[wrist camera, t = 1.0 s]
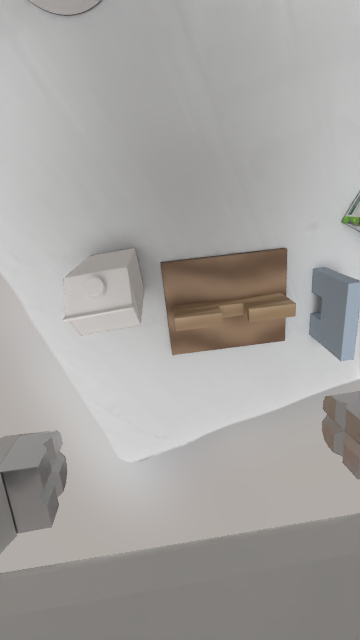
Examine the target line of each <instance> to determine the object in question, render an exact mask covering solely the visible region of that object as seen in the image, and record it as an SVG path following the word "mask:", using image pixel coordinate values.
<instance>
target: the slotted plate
mask: <svg viewBox="0 0 360 640" xmlns="http://www.w3.org/2000/svg"><path fill="white" fill-rule="evenodd" d="M312 292H313V293H315V294H316V295H318V296H320V297H322V308H321V312H320V313H312V314H310V332H309V334H310V335H311V336H312V337H313V338H314V339H315V340H317V341H318V342H319V343H320V344H321V345H322V346H324V347H325V348H326V349H327V350H328V351H329V352H331V353H332V354H333V355H334V356H335V357H337V358H338V359H339V360H340V361H345V360H353V359H354V352H355V344H356V336H357V327H358V319H359V311H360V281H359V280H356V279H354V278H351V277H349V276H346V275H343V274H341V273H338V272H335V271H333V270H330V269H328V268H316V269H313V280H312Z"/></svg>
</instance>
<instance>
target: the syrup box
mask: <svg viewBox="0 0 360 640" xmlns="http://www.w3.org/2000/svg"><path fill="white" fill-rule="evenodd" d="M342 222H343V223H344V224H346V225H348V226H350V227H352V228H354V229H356V230H358V231H359V232H360V193H359V194H358V196H357V198H356V199H355V201H354V202H353V204H352V205H351V207H350V209H349V210H348V212H347V214H346V215H345V217H344V219H343V220H342Z"/></svg>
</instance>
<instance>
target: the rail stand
mask: <svg viewBox="0 0 360 640" xmlns="http://www.w3.org/2000/svg"><path fill="white" fill-rule="evenodd" d="M161 268H162V276H163V284H164V292H165V300H166V308H167V316H168V324H169V331H170V339H171V347H172V355H177V354H184V353H192V352H200V351H208V350H216V349H223V348H231V347H239V346H247V345H255V344H262V343H270V342H278V341H285V317H293V316H295V312H296V303H294V302H293V301H291V300H290V299H289V298H287V297H286V279H287V249H286V248H280V249H272V250H263V251H255V252H246V253H238V254H229V255H221V256H212V257H203V258H195V259H186V260H178V261H169V262H161Z"/></svg>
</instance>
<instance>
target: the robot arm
mask: <svg viewBox="0 0 360 640" xmlns="http://www.w3.org/2000/svg"><path fill="white" fill-rule="evenodd" d="M29 1H30V2H32V3H33V4H35V5H36V6H38V7H40V8H42V9H44V10H46V11H49V12H52V13H56V14H62V15H72V14H77V13H81V12H84V11H86V10H88V9H90V8H92V7H93V6H95V5H96V4H97V3H98V2H99V1H100V0H29ZM323 410H324V411H325V412H326V413H327V415H326V417H325V418H324V420H323V421H322V432H323V436H324V440H325V441H326V443H327V445H328V447H329V448H330V449H331V450H332V451H333V452H334V453H336V454H338V455H340V456H342V457H343V464H344V465H345V466H346V467H347V468H348V469H349V470H350V471H351V472H352V474H353V475H354V476H355V477H356V478H357V479H360V391H357V392H351V393H344V394H338V395H332V396H326V397H325V399H324V401H323ZM61 446H62V438H61V434H60V432H59V431H57V430H56V431H46V432H37V433H28V434H18V435H11V436H5V437H2V438H0V554H1V552H2V551H3V550H4V549H5V548H6V547H7V546H8V545H9V544H10V543H11V541H12V540H13V539H14V538H15V537H16V536H17V533H22V532H28V531H33V530H39V529H44V528H50V527H52V525H53V522H54V519H55V516H56V513H57V509H58V506H59V503H58V498H57V497H58V496H59V495H60V494H62V492H63V491H64V488H65V485H66V478H67V463H66V458H65V456H64V455H63V454H62V453H61V452H60V448H61ZM0 640H360V513H359V514H353V515H347V516H341V517H335V518H329V519H323V520H317V521H311V522H305V523H299V524H293V525H287V526H281V527H275V528H269V529H263V530H257V531H251V532H245V533H239V534H234V535H227V536H221V537H215V538H209V539H204V540H197V541H191V542H186V543H179V544H174V545H167V546H161V547H156V548H150V549H144V550H137V551H131V552H126V553H119V554H113V555H107V556H101V557H95V558H90V559H83V560H77V561H71V562H66V563H59V564H54V565H48V566H41V567H35V568H29V569H23V570H18V571H11V572H5V573H0Z"/></svg>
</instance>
